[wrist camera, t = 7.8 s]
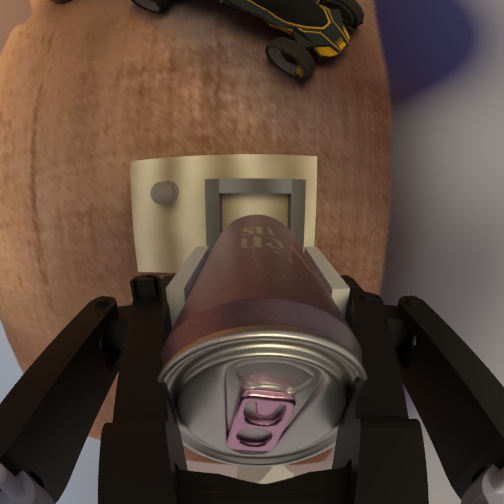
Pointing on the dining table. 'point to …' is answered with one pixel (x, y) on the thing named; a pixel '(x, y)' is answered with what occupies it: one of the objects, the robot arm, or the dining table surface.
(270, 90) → the dining table surface
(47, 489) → the robot arm
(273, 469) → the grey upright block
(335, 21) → the toy car
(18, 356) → the dining table surface
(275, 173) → the board
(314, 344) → the beverage can
